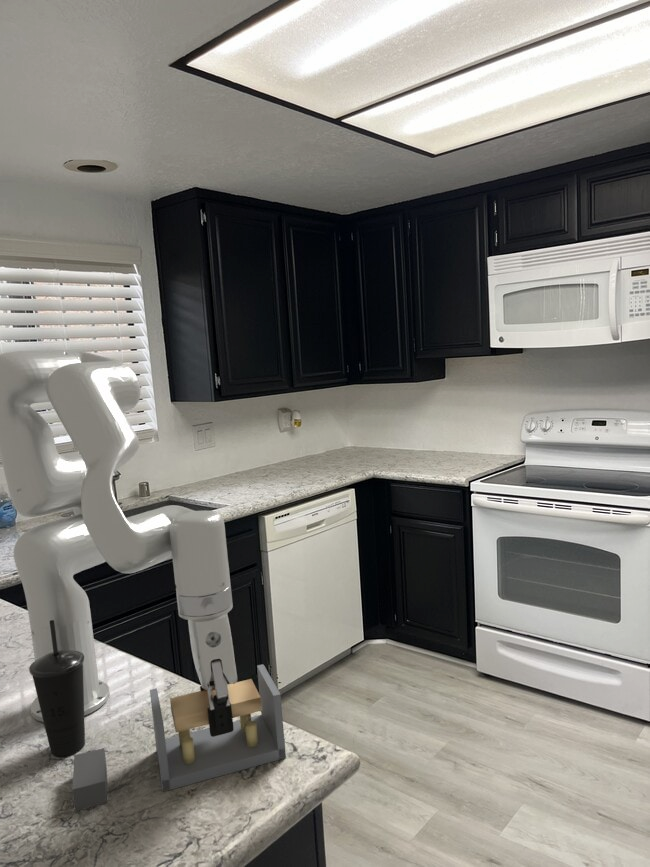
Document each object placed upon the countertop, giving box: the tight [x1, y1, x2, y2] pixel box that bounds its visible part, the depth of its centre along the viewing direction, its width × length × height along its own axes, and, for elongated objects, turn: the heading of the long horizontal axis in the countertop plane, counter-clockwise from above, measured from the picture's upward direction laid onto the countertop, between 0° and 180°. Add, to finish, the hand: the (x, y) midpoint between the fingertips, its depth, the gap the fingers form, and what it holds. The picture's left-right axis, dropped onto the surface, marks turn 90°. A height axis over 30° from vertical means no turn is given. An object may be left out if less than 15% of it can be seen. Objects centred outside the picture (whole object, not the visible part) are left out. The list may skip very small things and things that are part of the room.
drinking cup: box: [28, 620, 86, 758], centre depth 97 cm, size 8×8×20 cm
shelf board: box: [169, 678, 262, 733], centre depth 93 cm, size 12×6×2 cm, turn 109°
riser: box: [71, 747, 108, 812], centre depth 88 cm, size 8×4×3 cm, turn 19°
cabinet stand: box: [149, 663, 287, 793], centre depth 93 cm, size 10×17×10 cm, turn 109°
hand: (217, 720), depth 93 cm, fingers closed on shelf board, 6 cm apart
